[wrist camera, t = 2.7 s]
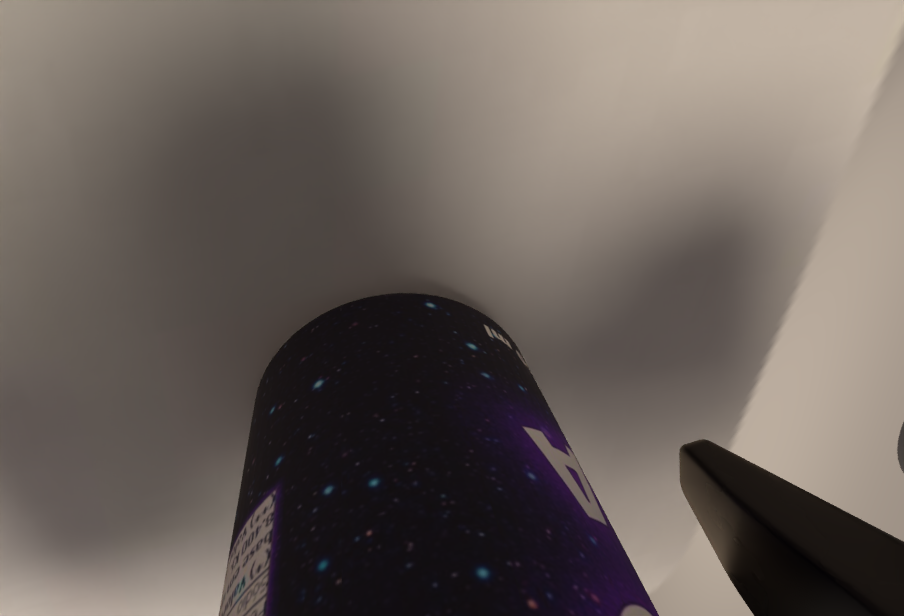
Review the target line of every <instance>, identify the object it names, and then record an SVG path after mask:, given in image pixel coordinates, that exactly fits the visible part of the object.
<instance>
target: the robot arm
mask: <svg viewBox="0 0 904 616" xmlns="http://www.w3.org/2000/svg"><path fill="white" fill-rule="evenodd" d="M679 455H680V483H681V487H682V490H683V493H684V495H685V497H686V499H687V501H688V502H689V504H690V506H691V508H692V510H693V512H694V514H695V515H696V517H697V519H698V521H699V523H700V525H701V526H702V528H703V530H704V532H705V534H706V536H707V537H708V540H709V541H710V543H711V545H712V547H713V549H714V550H715V552H716V554H717V556H718V558H719V560H720V562H721V564H722V566H723V567H724V569H725V571H726V573H727V574H728V576H729V578H730V580H731V581H732V583H733V584H734V586H735V587H736V589H737V591H738V592H739V594H740V595H741V597H742V598H743V600H744V601H745V603H746V604H747V606H748V607H749V608H750V610H751V611H752V613H753V614H754V616H904V542H903V541H901V540H899V539H897V538H895V537H893V536H892V535H890V534H888V533H886V532H884V531H882V530H880V529H878V528H876V527H874V526H872V525H870V524H868V523H867V522H865V521H863V520H861V519H859V518H857V517H855V516H853V515H851V514H849V513H847V512H845V511H843V510H841V509H840V508H838V507H836V506H834V505H832V504H830V503H828V502H826V501H824V500H822V499H820V498H818V497H817V496H815V495H813V494H811V493H809V492H807V491H805V490H803V489H801V488H799V487H797V486H795V485H793V484H792V483H790V482H788V481H786V480H784V479H782V478H780V477H778V476H776V475H774V474H772V473H770V472H768V471H767V470H764V469H763V468H761V467H759V466H757V465H755V464H753V463H751V462H749V461H747V460H745V459H743V458H742V457H740V456H738V455H736V454H734V453H732V452H730V451H728V450H726V449H724V448H722V447H720V446H718V445H716V444H715V443H713V442H711V441H708V440H705V439H702V440H697V441H694V442H691V443H688V444H684V445H683V446H682V447H681V448H680V453H679Z"/></svg>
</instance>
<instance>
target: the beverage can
mask: <svg viewBox="0 0 904 616" xmlns="http://www.w3.org/2000/svg"><path fill="white" fill-rule="evenodd" d="M219 616H659V615H658V613H657V611H656V609H655V607H654V605H653V603H652V602H651V600H650V598H649V596H648V594H647V592H646V590H645V588H644V586H643V584H642V583H641V581H640V579H639V577H638V575H637V573H636V571H635V569H634V567H633V565H632V564H631V562H630V560H629V558H628V556H627V554H626V552H625V550H624V548H623V546H622V545H621V543H620V541H619V539H618V537H617V535H616V533H615V531H614V529H613V527H612V526H611V524H610V522H609V520H608V518H607V516H606V514H605V512H604V510H603V508H602V507H601V505H600V503H599V501H598V499H597V497H596V495H595V493H594V491H593V489H592V488H591V486H590V484H589V482H588V480H587V478H586V476H585V474H584V472H583V470H582V469H581V467H580V465H579V463H578V461H577V459H576V457H575V455H574V453H573V451H572V450H571V448H570V446H569V444H568V442H567V440H566V438H565V436H564V434H563V432H562V431H561V429H560V427H559V425H558V423H557V421H556V419H555V417H554V415H553V413H552V412H551V410H550V408H549V406H548V404H547V402H546V400H545V398H544V396H543V394H542V393H541V391H540V389H539V387H538V385H537V383H536V381H535V379H534V377H533V375H532V374H531V372H530V370H529V368H528V366H527V364H526V362H525V360H524V358H523V356H522V355H521V353H520V351H519V349H518V348H517V346H516V344H515V343H514V342H513V340H512V339H511V338H510V337H509V335H508V334H507V333H506V332H505V331H504V330H503V329H502V328H501V327H500V326H499V325H498V324H496V323H495V322H494V321H493V320H491V319H490V318H488V317H487V316H486V315H484V314H482V313H481V312H479V311H477V310H475V309H473V308H471V307H469V306H467V305H464V304H462V303H459V302H457V301H453V300H450V299H447V298H443V297H438V296H433V295H426V294H415V293H397V294H385V295H378V296H372V297H368V298H363V299H360V300H356V301H353V302H350V303H347V304H344V305H341V306H339V307H337V308H335V309H332V310H330V311H328V312H326V313H324V314H322V315H321V316H319V317H317V318H316V319H314V320H312V321H311V322H309V323H308V324H306V325H305V326H304V327H302V328H301V329H300V330H299V331H297V332H296V333H295V334H294V335H293V336H292V337H291V338H290V339H289V340H288V341H287V342H286V343H285V344H284V345H283V346H282V347H281V348H280V350H279V351H278V352H277V353H276V355H275V356H274V357H273V359H272V360H271V362H270V363H269V365H268V367H267V369H266V370H265V372H264V375H263V377H262V379H261V381H260V384H259V387H258V390H257V394H256V399H255V404H254V410H253V416H252V422H251V428H250V434H249V440H248V446H247V452H246V458H245V464H244V470H243V476H242V482H241V487H240V493H239V499H238V505H237V511H236V517H235V523H234V529H233V535H232V541H231V547H230V553H229V559H228V565H227V571H226V577H225V582H224V588H223V594H222V600H221V606H220V612H219Z"/></svg>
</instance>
